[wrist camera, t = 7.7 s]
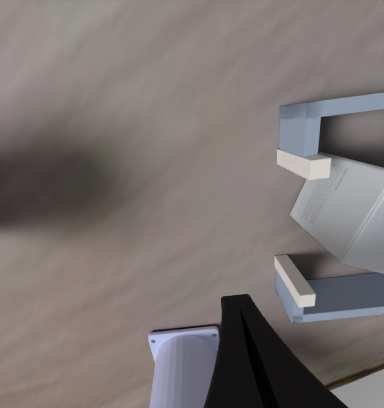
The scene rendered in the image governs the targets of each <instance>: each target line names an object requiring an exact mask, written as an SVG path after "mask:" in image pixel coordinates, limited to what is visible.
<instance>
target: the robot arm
mask: <svg viewBox="0 0 384 408" xmlns="http://www.w3.org/2000/svg"><path fill="white" fill-rule="evenodd" d="M221 306H222V322H221V331H220V339H219V332H218V328H217V327H216V326H210V327H200V328H190V329H180V330H171V331H161V332H152V333H150V334H149V336H148V340H149V343H150V347H151V350H152V354H153V358H154V361H155V371H154V378H153V386H152V393H151V401H150V408H348V407H347V406H346V405H345V404H344V403H343V402H341V401H340V400H339V399H338V398H337V397H336V396H335V395H334V394H333V393H332V392H330V391H329V390H328V389H327V388H326V387H325V386H324V385H323V384H322V383H321V382H320V381H319V380H318V379H317V378H316V377H315V376H314V375H313V374H312V373H311V372H310V371H309V370H308V369H307V368H306V367H305V366H304V365H303V364H302V362H301V361H300V360H299V359H298V358H297V357H296V356H295V355H294V354H293V353H292V351H291V350H290V349H289V348H288V347H287V346H286V344H285V343H284V342H283V341H282V340H281V338H280V337H279V336H278V335H277V334H276V332H275V331H274V330H273V328H272V327H271V326H270V325H269V323H268V322H267V321H266V319H265V318H264V317H263V315H262V314H261V312H260V311H259V309H258V308H257V307H256V305H255V303H254V302H253V300H252V299H251V297H250V295H248V294H242V295H233V296H223V297H222V298H221Z"/></svg>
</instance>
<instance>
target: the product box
mask: <svg viewBox="0 0 384 408" xmlns="http://www.w3.org/2000/svg"><path fill="white" fill-rule="evenodd" d="M318 155H322V156H325V157H329V158H331V166H330V174H329V178H323V179H315V180H308V179H306V182H305V184H304V186H303V188H302V190H301V192H300V194H299V196H298V198H297V201H296V203H295V205H294V207H293V209H292V211H291V213H290V216H291V217H292V218H293V219H294V220H295V221H296V222H298V223H299V224H300V225H301V226H302V227H303V228H304V229H305V230H306V231H307V232H308V233H309V234H310V235H312V236H313V237H314V238H315V239H316V240H317V241H318V242H319V243H320V244H321V245H322V246H323V247H324V248H325V249H326V250H327V251H329V252H330V253H331V254H332V255H333V256H334V257H335V258H336V259H337V260H338V261H339V262H340V263H341V264H344V265H349V266H353V267H357V268H361V269H365V270H369V271H374V272H377V273H382V274H384V168H383V167H379V166H375V165H371V164H367V163H363V162H359V161H355V160H351V159H347V158H344V157H340V156H335V155H331V154H327V153H323V152H320V153H319V154H318Z"/></svg>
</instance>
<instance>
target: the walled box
mask: <svg viewBox="0 0 384 408" xmlns="http://www.w3.org/2000/svg"><path fill="white" fill-rule="evenodd" d="M379 109H384V93H377V94H369V95H362V96H354V97H346V98H339V99H331V100H323V101H316V102H308V103H301V104H293V105H286V106H280V133H279V149H277V164H278V165H280V166H282V167H284V168H286V169H288V170H290V171H292V172H294V173H296V174H298V175H300V176H302V177H304V178H306V179H308V180H315V179H323V178H329V174H330V166H331V158H329V157H325V156H322V155H318V144H319V133H320V122H321V117H325V116H332V115H340V114H348V113H356V112H364V111H371V110H379ZM275 267H276V288H275V291H276V292H277V294H278V296H279V298H280V300H281V302H282V304H283V306H284V308H285V310H286V312H287V314H288V316H289V318H290V320H291V322H292V323H301V322H311V321H321V320H331V319H340V318H350V317H360V316H370V315H380V314H384V274H382V273H371V274H362V275H352V276H343V277H334V278H324V279H315V280H305V279H304V277H303V276H302V274H301V273H300V272H299V270H298V269H297V268H296V266H295V265H294V264H293V262H292V261H291V259H290V258H289V257H288V255H279V256H275Z"/></svg>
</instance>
